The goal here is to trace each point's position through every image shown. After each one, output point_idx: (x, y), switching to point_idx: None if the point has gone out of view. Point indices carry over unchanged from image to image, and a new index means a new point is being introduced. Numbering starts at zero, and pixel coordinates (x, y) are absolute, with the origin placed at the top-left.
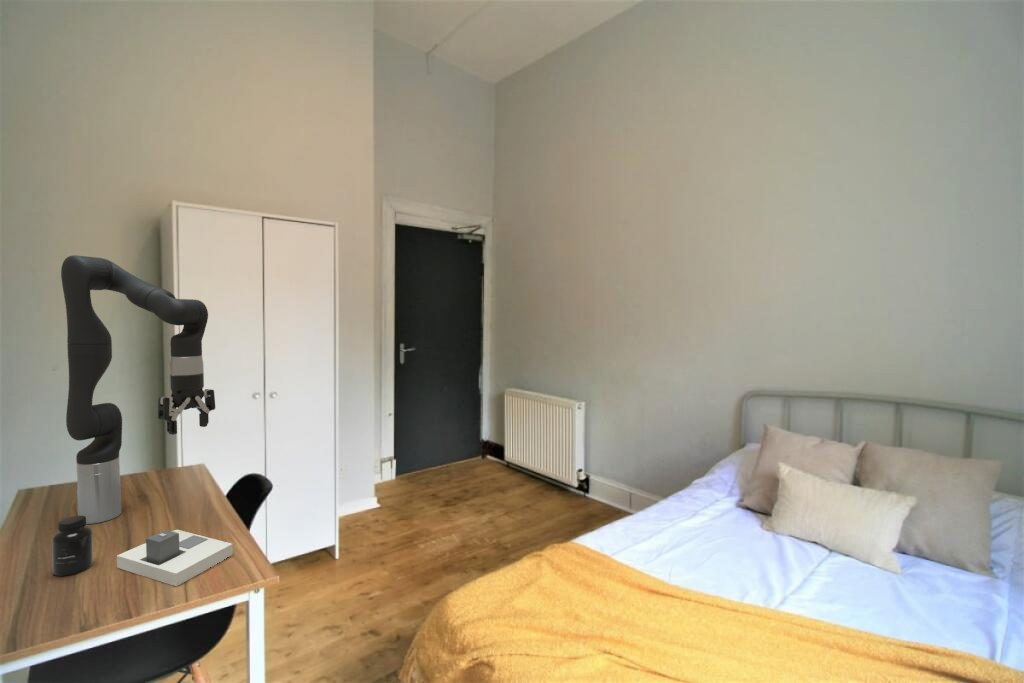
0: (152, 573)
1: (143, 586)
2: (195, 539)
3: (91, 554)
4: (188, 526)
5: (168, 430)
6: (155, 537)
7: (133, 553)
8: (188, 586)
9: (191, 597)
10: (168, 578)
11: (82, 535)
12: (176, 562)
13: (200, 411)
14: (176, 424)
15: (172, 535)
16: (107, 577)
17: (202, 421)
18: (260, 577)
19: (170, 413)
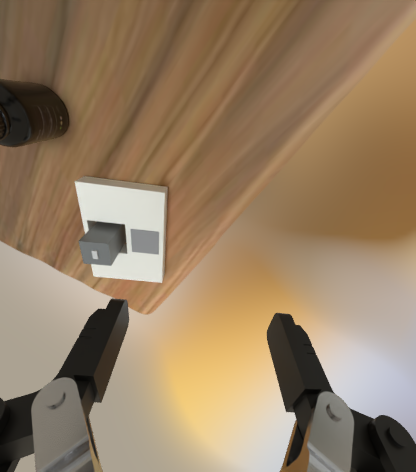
0: None
1: None
2: (151, 243)
3: (54, 135)
4: (208, 164)
5: (91, 325)
6: (87, 249)
7: (90, 198)
8: None
9: (97, 288)
10: None
11: (8, 146)
12: None
13: (311, 412)
14: (108, 375)
15: (103, 263)
16: (66, 186)
17: (278, 350)
18: (145, 312)
19: (55, 450)
